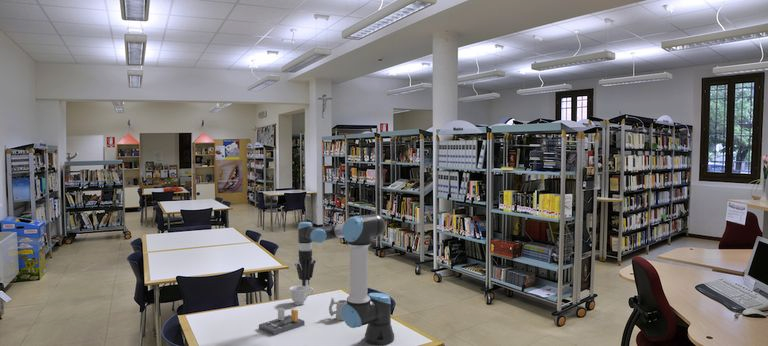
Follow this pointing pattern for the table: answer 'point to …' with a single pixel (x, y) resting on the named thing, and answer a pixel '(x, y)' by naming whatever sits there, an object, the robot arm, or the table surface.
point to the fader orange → (294, 315)
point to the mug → (338, 307)
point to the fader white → (281, 314)
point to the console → (280, 325)
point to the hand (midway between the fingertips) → (305, 291)
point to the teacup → (299, 294)
